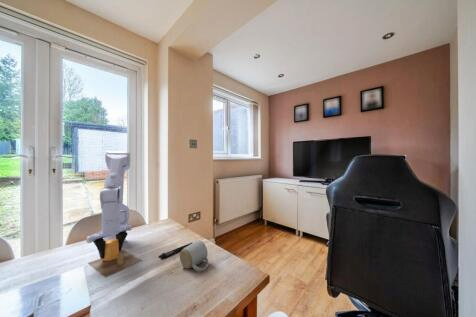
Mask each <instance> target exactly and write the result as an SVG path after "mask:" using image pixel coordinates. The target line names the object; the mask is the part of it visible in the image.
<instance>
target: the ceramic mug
mask: <svg viewBox="0 0 476 317" xmlns="http://www.w3.org/2000/svg"><path fill="white" fill-rule="evenodd" d="M191 243H192V244H190V245H189V246H187V247H185V248H184V249H183V250H182V251H181V252H179V261H180V263H181V265H182V266H183V267H184V269H191V268H193V269H194V270H195V271H196V272H204V271H206V270H207V269H208V268H209V264H210V263H209V258H208V255H209V254H208V252H209V251H208V248H207V246H206V244H205V243H204V241H202V240H199V239H198V240H195V241H194V242H191ZM204 261H205V262H206V266H204V267H198V266H197V265H199V264H201V263H202V262H204Z"/></svg>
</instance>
